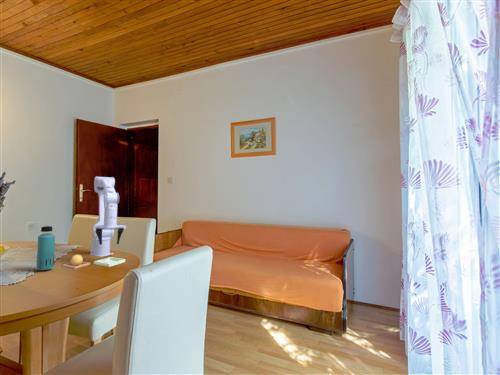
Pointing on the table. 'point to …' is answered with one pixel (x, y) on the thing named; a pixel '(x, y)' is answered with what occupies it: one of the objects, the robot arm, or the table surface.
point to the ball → (76, 260)
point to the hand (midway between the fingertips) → (109, 244)
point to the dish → (76, 265)
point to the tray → (109, 261)
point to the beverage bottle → (45, 249)
